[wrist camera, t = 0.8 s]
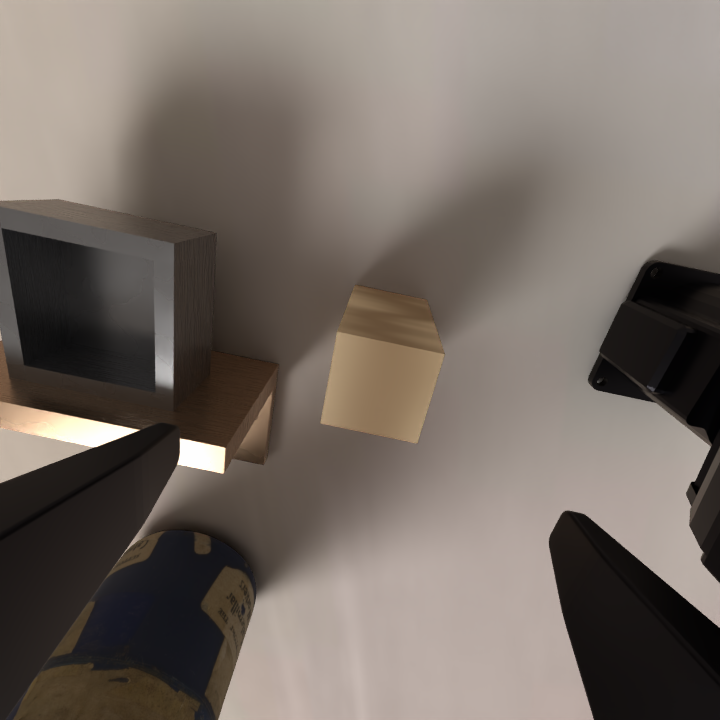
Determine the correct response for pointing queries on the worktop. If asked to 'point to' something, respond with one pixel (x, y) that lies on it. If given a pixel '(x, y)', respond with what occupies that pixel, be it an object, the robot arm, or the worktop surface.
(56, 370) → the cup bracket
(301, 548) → the worktop surface
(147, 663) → the canister
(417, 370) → the rail end
